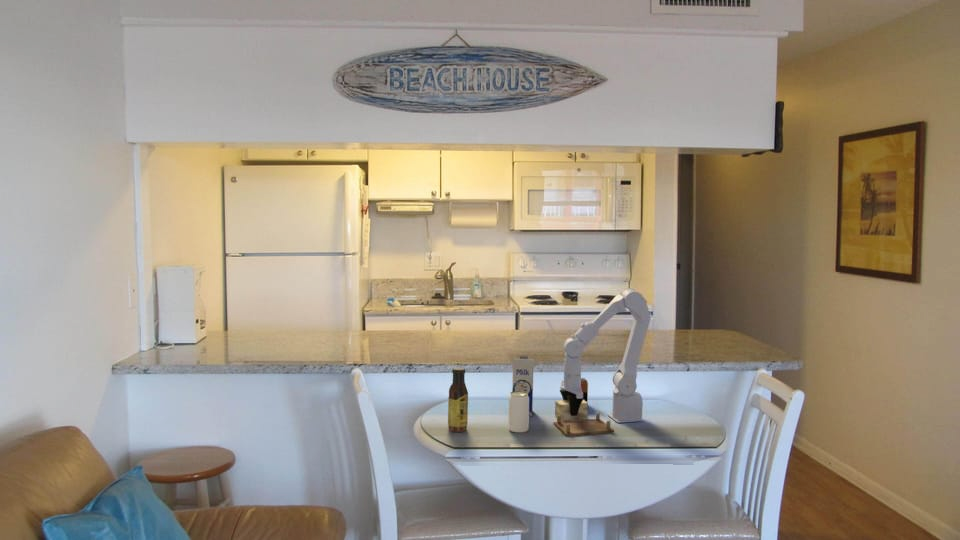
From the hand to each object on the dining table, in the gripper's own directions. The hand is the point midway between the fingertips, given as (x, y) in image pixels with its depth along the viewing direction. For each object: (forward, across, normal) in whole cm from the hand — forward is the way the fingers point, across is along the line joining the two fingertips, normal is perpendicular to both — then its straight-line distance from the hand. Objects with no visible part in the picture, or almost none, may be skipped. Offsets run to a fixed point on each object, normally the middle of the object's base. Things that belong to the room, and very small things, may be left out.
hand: (571, 412), depth 210 cm
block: (+2, 0, 0) cm, 2 cm away
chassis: (+2, +10, 0) cm, 11 cm away
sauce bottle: (+2, +4, -40) cm, 40 cm away
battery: (+2, -12, +7) cm, 14 cm away
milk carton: (+2, -8, -15) cm, 17 cm away
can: (+2, +8, -21) cm, 22 cm away
